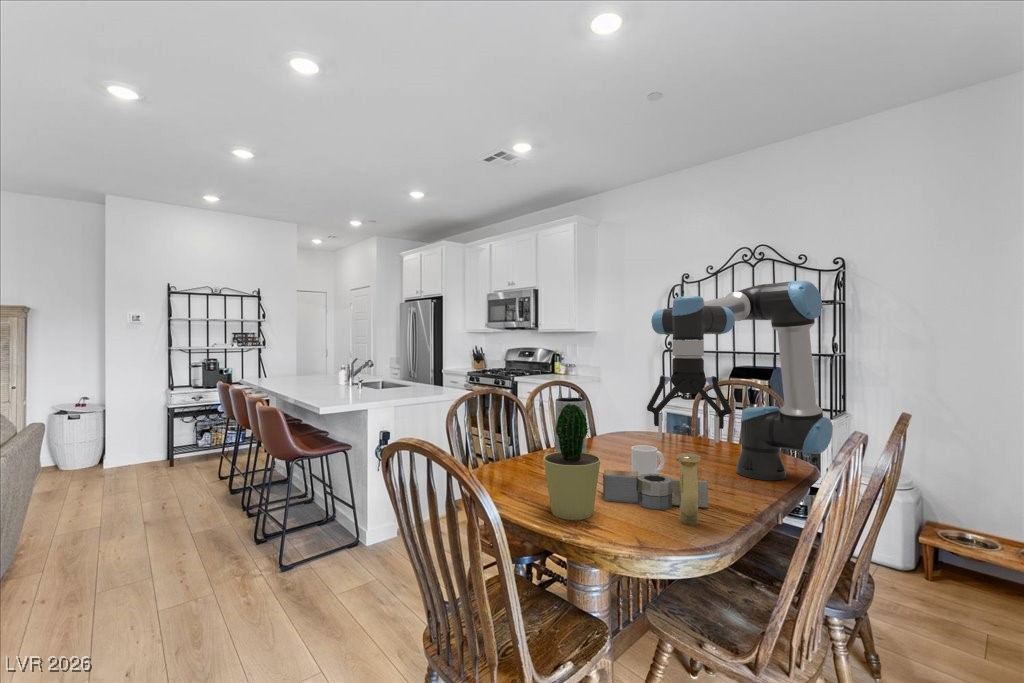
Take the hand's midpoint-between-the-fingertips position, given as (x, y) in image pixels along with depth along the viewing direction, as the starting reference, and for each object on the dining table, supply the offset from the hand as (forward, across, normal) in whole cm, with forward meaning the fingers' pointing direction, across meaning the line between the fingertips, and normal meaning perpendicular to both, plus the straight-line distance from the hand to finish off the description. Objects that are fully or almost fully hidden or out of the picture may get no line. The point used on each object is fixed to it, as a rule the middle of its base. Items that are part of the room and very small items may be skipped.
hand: (688, 440), depth 122 cm
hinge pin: (+21, 0, 0) cm, 21 cm away
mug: (+21, +9, -37) cm, 44 cm away
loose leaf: (+21, +3, -12) cm, 24 cm away
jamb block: (+21, +17, -16) cm, 31 cm away
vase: (+21, +34, -28) cm, 49 cm away
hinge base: (+21, +12, -12) cm, 27 cm away
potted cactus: (+21, +30, 0) cm, 37 cm away
